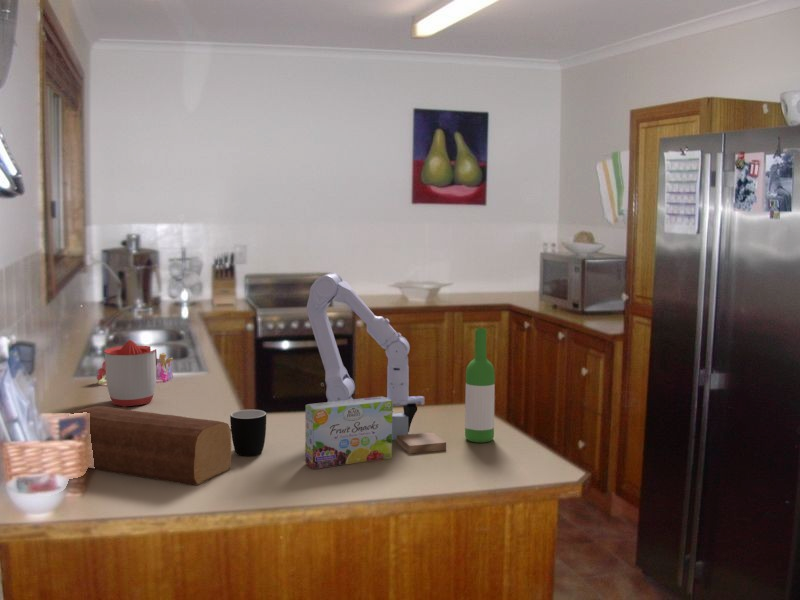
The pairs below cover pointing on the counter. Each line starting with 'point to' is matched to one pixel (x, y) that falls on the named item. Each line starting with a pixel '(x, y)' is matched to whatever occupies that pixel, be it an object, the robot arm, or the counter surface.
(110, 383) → the citrus juicer
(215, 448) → the bread
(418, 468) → the counter surface
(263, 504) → the counter surface
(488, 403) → the wine bottle
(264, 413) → the mug
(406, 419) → the block
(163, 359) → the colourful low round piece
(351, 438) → the snack box
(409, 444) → the base board
